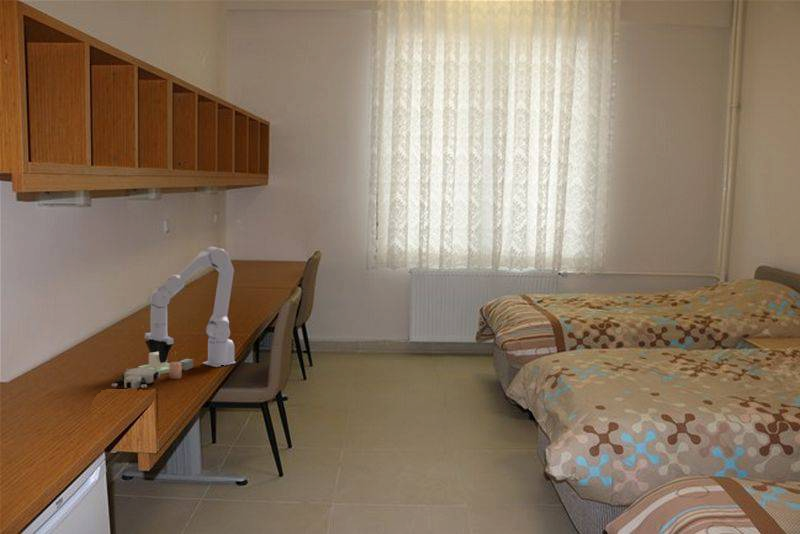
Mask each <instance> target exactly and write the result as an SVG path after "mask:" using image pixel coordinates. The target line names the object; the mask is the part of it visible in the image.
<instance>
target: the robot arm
mask: <svg viewBox="0 0 800 534" xmlns="http://www.w3.org/2000/svg"><path fill="white" fill-rule="evenodd" d="M230 257H231V256H230V254H229V253H228V252H227V251H226V250H225V249H224V248H221V247H216V246H212V245H211V246H207V247H206V248H205V249H204V250H202V251H200V252H199V253H198V255H196V257H195V258H193V259H192V261H190V263H188V264H187V265H186V266H185V268H183V269H182V271H180V272H179V273H178V274H172V275H169V276H167V278H166V279H167V280H165V281H164V282H163V283H162V284H160V285H158V286H156V288H157V289H154V290H152V291H151V292H150V294H149V296H148V298H147V299H148V302H149V303H150V311H149V312H150V313H149V314H150V332H145V333H144V339H146V340H145V341H144V342H145V345H146V346H147V348H148V350H149V353H152V352H158V351H159V359H160V363H163V362H166V360H167V361H168V356H169V353H170V350H171V349H172V347H173V345H174V338H173V337H171V336H169V335H168V305H169V303H170V302H171V299H172V298H173V297H174V296H175V295H177V294H178V293H179V292H180V291H181V290H182V289H183V288H184V287H186V281H187V280H189V278H190V277H192V276H193V275H195V274H196V273H197V272H198V271H199V270H200V269H202V268H205V267H212V266H213V268H215V270H216V271H217V272H218V278H217V286H216V290H215V291H216V292H215V299H214V305H213V312H212V315H211V316H210V318H209V322H208V324H207V325H206V327H205V332H206V335H207V336H208V339H207V360H206V361H203V362H202V364H204V365H206V366H209V367H210V366H211V367H214V368H218V367H222V366H221V365H224V366H228V365H233V364H236V361H235V344H234V341H233V340H232V339H230V335H231V330H230V321H229V317H228V313H229V308H230V307H229V305H230V301H231V300H230V299H231V293H232V287H233V280H234V279H233V278H234V273H235V269H234V266H233V263H232V261H231V258H230Z"/></svg>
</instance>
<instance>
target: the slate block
mask: <svg viewBox="0 0 800 534" xmlns="http://www.w3.org/2000/svg"><path fill="white" fill-rule="evenodd" d="M178 362H181V363H182V371H188V370H190V369H192V368H194V359H192V358H191V359H190V358H184V359H182V360H180V361H178Z"/></svg>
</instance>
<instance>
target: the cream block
mask: <svg viewBox="0 0 800 534" xmlns="http://www.w3.org/2000/svg"><path fill="white" fill-rule="evenodd" d="M167 363H168V359H167V360H166V362H163V363H160V359H159V351H158V352H152V353H150V352H149V353H148V364H149V367H151V368H155V369H158V368H164V367H167Z"/></svg>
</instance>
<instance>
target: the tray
mask: <svg viewBox="0 0 800 534" xmlns="http://www.w3.org/2000/svg"><path fill="white" fill-rule="evenodd" d="M169 363H170V362H169ZM169 363H168V362H167V367H164V368H158V369H155V368H151V367H149V363H148V364H143V365H139V366H138V367H137V368H151V369H155V370H157V372H158V373H159V374H160V372H161V370H163V371H162V372H161V374H160V375H163V374H169Z"/></svg>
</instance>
